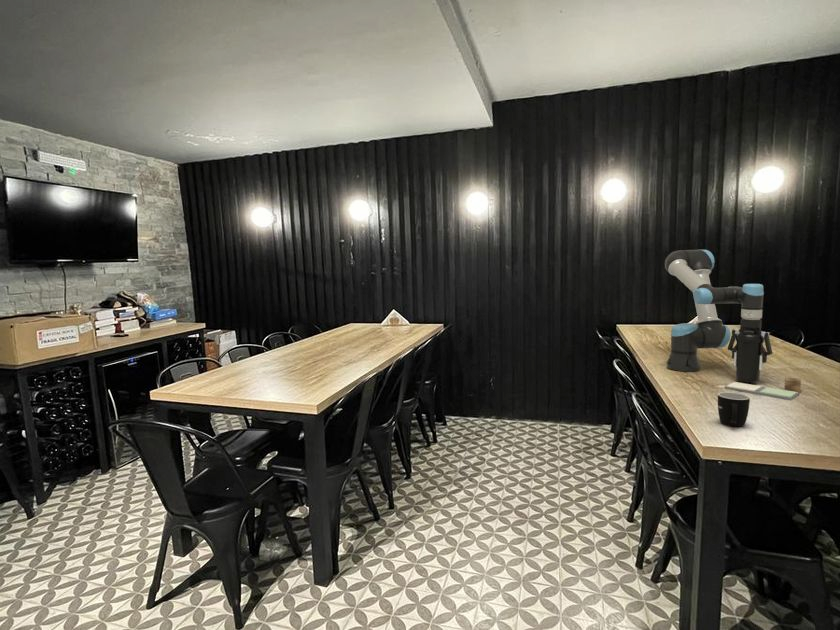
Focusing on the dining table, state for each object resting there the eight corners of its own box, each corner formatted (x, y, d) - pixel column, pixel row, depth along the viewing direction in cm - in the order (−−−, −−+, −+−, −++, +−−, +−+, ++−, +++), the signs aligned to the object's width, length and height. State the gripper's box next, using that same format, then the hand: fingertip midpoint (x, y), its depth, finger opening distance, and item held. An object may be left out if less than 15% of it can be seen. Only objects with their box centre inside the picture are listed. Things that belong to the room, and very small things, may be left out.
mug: (716, 418, 159) (717, 390, 158) (747, 421, 154) (748, 393, 153) (717, 429, 149) (718, 400, 148) (750, 433, 144) (752, 403, 143)
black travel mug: (762, 378, 201) (765, 328, 198) (760, 383, 194) (763, 332, 191) (735, 375, 208) (738, 327, 205) (732, 380, 201) (734, 330, 198)
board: (724, 388, 194) (724, 385, 193) (734, 383, 200) (734, 381, 200) (790, 400, 175) (791, 397, 175) (799, 394, 182) (799, 391, 181)
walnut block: (784, 391, 187) (785, 379, 186) (784, 388, 191) (785, 377, 190) (800, 393, 184) (800, 381, 183) (799, 390, 188) (800, 378, 187)
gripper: (720, 317, 204) (717, 365, 207) (778, 321, 187) (775, 373, 189) (726, 315, 208) (724, 362, 211) (784, 319, 191) (780, 370, 194)
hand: (748, 367), depth 200 cm, fingers closed on black travel mug, 9 cm apart
